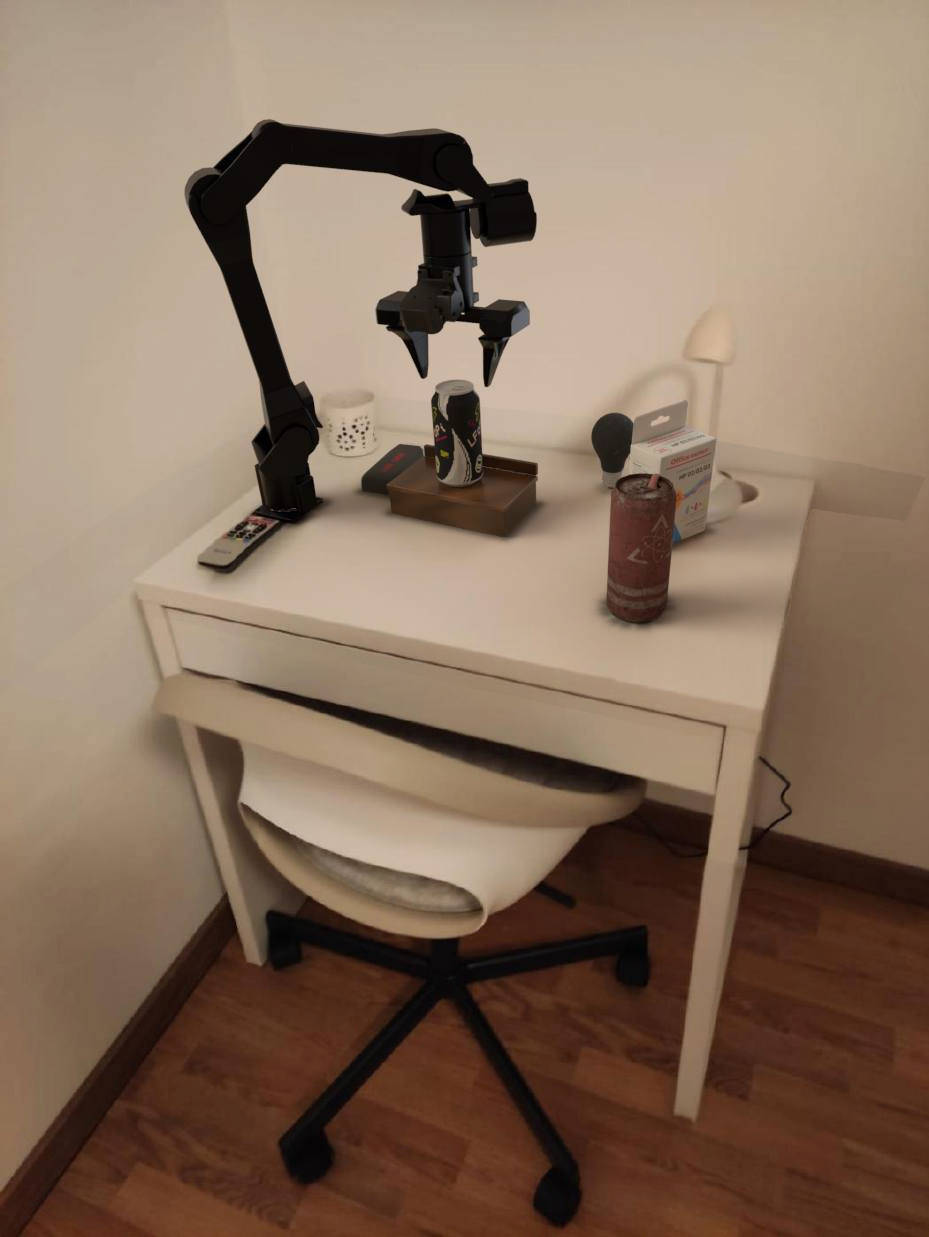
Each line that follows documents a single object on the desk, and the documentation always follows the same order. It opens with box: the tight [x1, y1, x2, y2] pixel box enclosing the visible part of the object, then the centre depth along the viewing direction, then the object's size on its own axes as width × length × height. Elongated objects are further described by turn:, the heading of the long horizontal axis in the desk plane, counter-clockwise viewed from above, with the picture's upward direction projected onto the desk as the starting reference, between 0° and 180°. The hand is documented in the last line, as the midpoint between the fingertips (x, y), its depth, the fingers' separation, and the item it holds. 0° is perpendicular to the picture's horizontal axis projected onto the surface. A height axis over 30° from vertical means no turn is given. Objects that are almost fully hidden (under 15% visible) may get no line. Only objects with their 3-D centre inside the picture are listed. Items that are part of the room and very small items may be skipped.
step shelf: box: [386, 443, 539, 538], centre depth 110 cm, size 16×10×6 cm, turn 62°
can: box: [605, 473, 677, 624], centre depth 87 cm, size 6×6×14 cm
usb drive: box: [360, 442, 425, 496], centre depth 120 cm, size 5×12×3 cm, turn 158°
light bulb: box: [590, 412, 634, 490], centre depth 111 cm, size 6×6×10 cm
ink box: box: [628, 399, 717, 545], centre depth 99 cm, size 8×5×15 cm, turn 123°
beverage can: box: [430, 379, 484, 487], centre depth 105 cm, size 6×6×12 cm
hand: (455, 382), depth 112 cm, fingers open, 9 cm apart
